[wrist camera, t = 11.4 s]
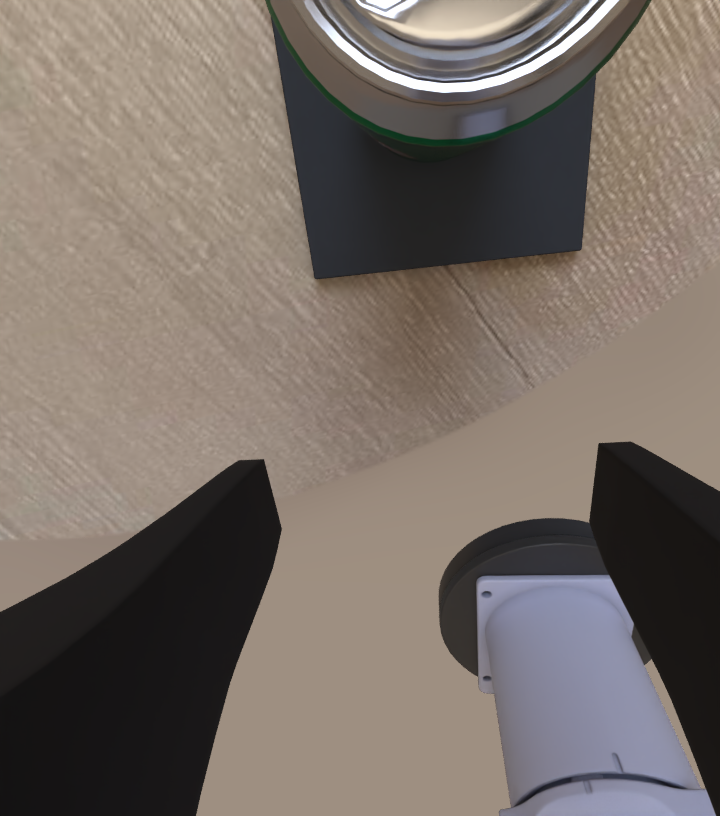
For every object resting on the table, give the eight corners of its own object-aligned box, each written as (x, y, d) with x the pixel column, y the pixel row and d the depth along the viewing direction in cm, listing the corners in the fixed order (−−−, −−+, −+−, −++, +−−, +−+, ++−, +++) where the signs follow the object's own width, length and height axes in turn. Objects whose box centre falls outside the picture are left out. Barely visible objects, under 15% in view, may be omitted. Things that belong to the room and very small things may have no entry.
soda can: (328, 27, 15) (89, -371, 4) (485, -70, 13) (777, -1094, 3) (389, 189, 16) (341, 217, 6) (532, 119, 15) (810, -11, 4)
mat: (577, 248, 17) (581, 250, 17) (316, 277, 19) (314, 279, 18) (616, -237, 12) (623, -253, 11) (248, -141, 13) (242, -152, 13)
